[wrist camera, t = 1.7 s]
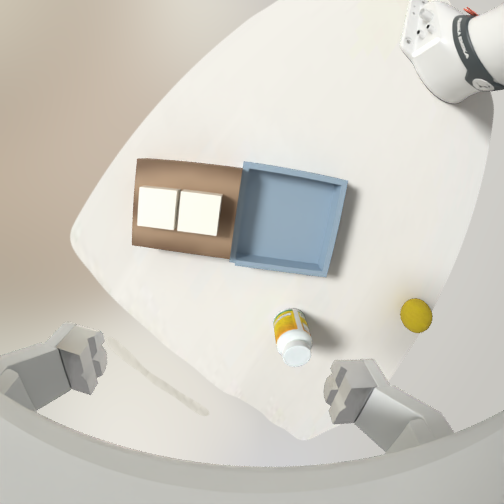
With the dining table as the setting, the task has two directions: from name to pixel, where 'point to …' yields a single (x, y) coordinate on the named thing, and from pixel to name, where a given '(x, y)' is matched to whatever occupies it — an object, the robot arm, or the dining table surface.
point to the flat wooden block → (179, 178)
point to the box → (286, 219)
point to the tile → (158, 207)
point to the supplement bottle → (292, 337)
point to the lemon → (416, 315)
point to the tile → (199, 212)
